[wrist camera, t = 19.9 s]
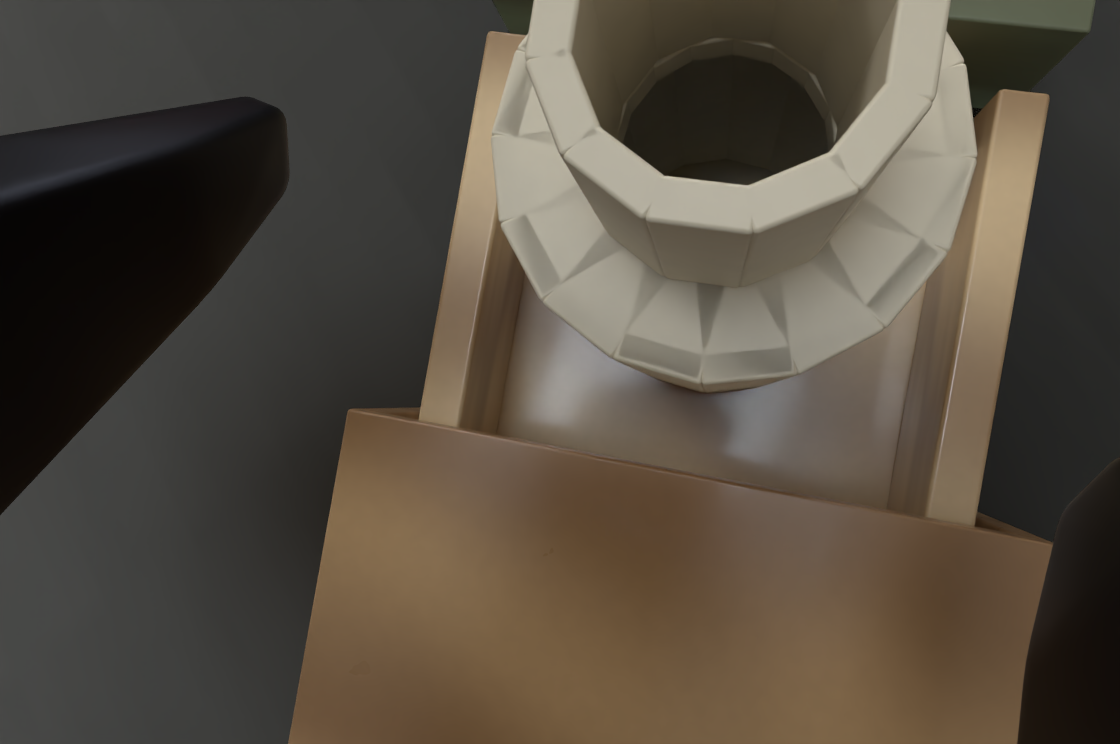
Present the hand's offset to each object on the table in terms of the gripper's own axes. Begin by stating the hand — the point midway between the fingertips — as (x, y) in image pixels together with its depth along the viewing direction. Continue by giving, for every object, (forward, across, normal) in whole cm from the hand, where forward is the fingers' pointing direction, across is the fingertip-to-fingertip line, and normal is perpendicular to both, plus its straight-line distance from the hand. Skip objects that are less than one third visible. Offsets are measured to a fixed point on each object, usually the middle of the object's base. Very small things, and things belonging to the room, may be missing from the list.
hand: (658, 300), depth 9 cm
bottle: (+8, 0, +5) cm, 9 cm away
